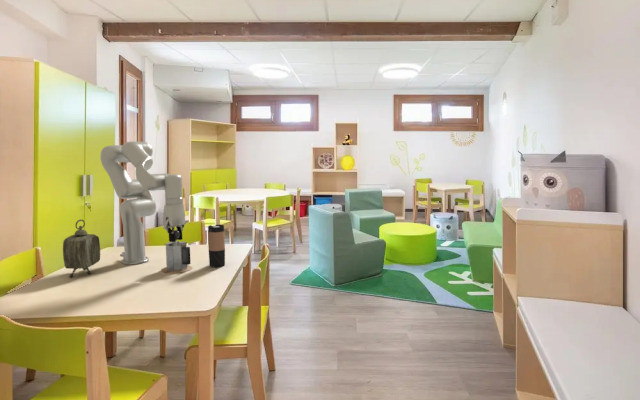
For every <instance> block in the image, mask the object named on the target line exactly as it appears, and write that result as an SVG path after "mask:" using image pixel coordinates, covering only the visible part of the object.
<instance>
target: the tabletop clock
mask: <svg viewBox="0 0 640 400" xmlns="http://www.w3.org/2000/svg"><path fill="white" fill-rule="evenodd" d="M80 222H83V225H79V226H77V225H78V223H80ZM85 225H86V223H85V220H84V219H78V220H77V221H76V222H75V226H74V227H75V228H76V229H77V230H76V231H74V234H72V235H70V236H67V237H66V238H65V239H63V242H62V258H63V264H64V267H65V269H71V270H72V272H71V273H70V274H69V275H68V276H69V278H73V277H74V274H75V272H76V271H77V270H79V269H82V270H83V271H86V274H88V275H90V274H91V273H92V271H91V270H90V269H89V268H90V267H92V266H94V265H95V264H97V263H98V262H100V260H101V243H100V239H99V236H97V235H96V234H90V233H88V232H87V231H86V230H85V229H84V228H85Z"/></svg>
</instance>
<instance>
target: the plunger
mask: <svg viewBox="0 0 640 400" xmlns="http://www.w3.org/2000/svg"><path fill="white" fill-rule="evenodd" d="M174 233H175V244H176V243H177V241H178V240H177V238H179V237H180V232H179V231H177V229H174Z"/></svg>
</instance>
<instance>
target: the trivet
mask: <svg viewBox="0 0 640 400" xmlns="http://www.w3.org/2000/svg"><path fill="white" fill-rule="evenodd" d="M192 270H193V266H191V265H187V269H186V270H184V271H179V272H169V271H167V266H166V267H163V268H161V270H160V272H161V273H163V274H168V275H169V274H170V275H171V274H173V275H175V274H182V273H187V272H191V271H192Z"/></svg>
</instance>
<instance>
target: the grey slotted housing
mask: <svg viewBox="0 0 640 400" xmlns="http://www.w3.org/2000/svg"><path fill="white" fill-rule="evenodd" d="M187 244H188V241H183V240H181V241H180V240H177V243H176V244H175V242H166V243H164V245H165V257H166V258H165V259H166V260H165V262H166V267H167V271H169V272H179V271H184V270H186V269H187V265H188V266H190V265H191V264H192V263H191V246H187Z"/></svg>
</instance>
